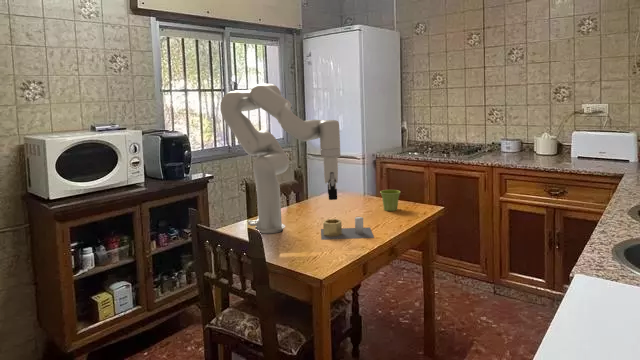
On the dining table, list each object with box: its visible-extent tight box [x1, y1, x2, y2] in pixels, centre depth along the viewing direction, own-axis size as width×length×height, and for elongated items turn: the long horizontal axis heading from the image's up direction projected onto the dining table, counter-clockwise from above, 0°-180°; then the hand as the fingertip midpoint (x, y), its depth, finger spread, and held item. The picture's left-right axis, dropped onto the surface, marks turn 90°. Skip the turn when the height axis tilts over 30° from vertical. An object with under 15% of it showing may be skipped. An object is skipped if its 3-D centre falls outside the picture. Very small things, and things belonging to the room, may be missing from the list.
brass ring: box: [322, 218, 342, 237], centre depth 198 cm, size 7×7×5 cm
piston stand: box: [320, 216, 375, 241], centre depth 198 cm, size 20×14×7 cm
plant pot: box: [379, 189, 401, 212], centre depth 237 cm, size 9×9×9 cm
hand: (332, 196), depth 196 cm, fingers open, 9 cm apart
